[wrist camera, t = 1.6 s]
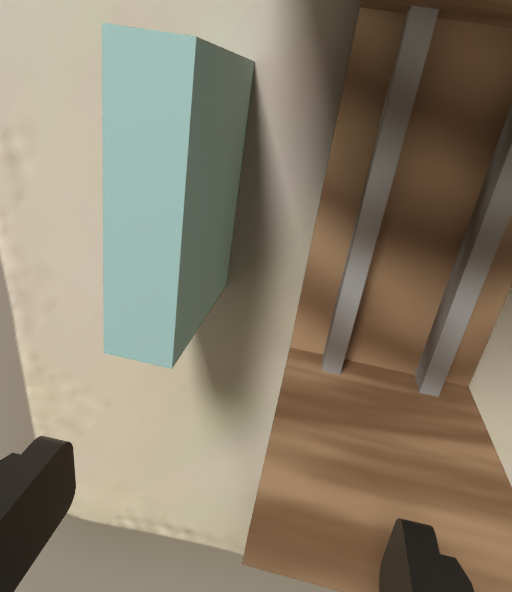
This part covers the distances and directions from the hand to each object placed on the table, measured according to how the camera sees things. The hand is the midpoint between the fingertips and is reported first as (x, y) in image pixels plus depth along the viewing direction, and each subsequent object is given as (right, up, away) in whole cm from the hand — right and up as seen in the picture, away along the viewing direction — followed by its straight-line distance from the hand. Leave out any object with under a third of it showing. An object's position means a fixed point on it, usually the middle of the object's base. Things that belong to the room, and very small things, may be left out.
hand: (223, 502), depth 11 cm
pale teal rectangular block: (-2, +12, +18) cm, 22 cm away
